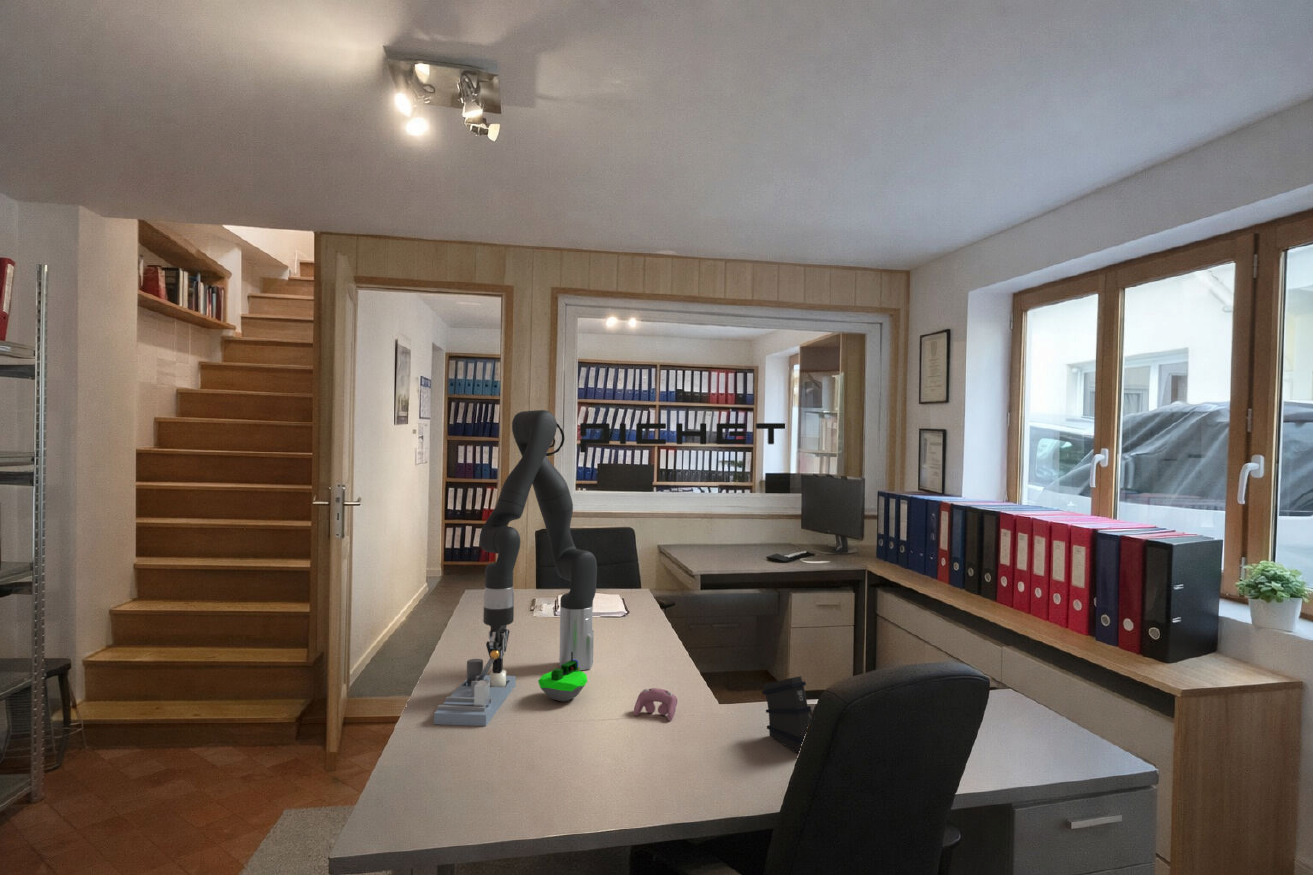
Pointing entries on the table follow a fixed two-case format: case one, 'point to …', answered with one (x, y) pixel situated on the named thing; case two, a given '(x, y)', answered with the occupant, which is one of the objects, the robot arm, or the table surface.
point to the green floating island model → (563, 681)
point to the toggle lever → (488, 664)
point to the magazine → (787, 711)
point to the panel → (472, 704)
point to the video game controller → (656, 695)
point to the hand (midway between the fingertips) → (497, 672)
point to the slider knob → (482, 693)
